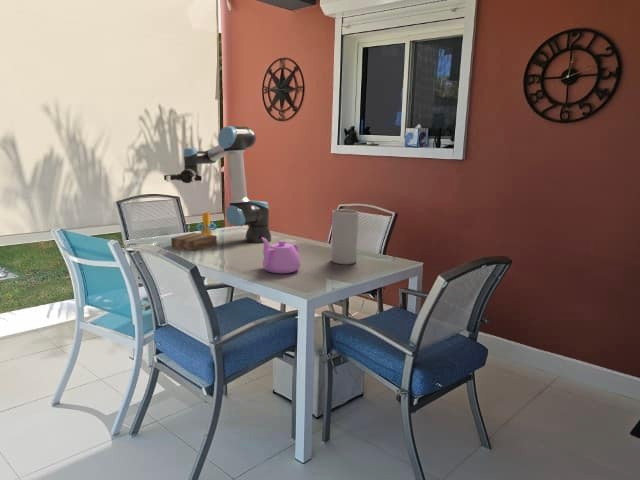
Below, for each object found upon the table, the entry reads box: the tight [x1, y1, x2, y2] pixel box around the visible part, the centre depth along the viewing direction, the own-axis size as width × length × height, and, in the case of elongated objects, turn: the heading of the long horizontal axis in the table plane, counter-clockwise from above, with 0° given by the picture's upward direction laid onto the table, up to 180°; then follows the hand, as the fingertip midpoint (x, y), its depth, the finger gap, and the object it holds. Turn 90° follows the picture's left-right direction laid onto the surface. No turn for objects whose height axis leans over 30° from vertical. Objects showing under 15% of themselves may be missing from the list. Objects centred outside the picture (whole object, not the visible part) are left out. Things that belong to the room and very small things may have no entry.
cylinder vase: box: [330, 209, 359, 265], centre depth 239 cm, size 12×12×25 cm
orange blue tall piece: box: [196, 211, 217, 235], centre depth 289 cm, size 12×10×15 cm
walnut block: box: [170, 232, 218, 252], centre depth 267 cm, size 16×18×5 cm
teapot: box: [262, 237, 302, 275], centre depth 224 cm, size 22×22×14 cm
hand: (179, 179), depth 262 cm, fingers open, 13 cm apart
